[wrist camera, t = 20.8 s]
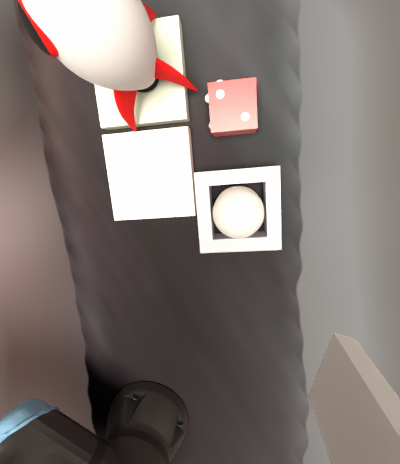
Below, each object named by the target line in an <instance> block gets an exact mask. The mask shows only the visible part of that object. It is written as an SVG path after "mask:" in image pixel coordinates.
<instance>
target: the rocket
mask: <svg viewBox="0 0 400 464" xmlns="http://www.w3.org/2000/svg"><path fill="white" fill-rule="evenodd" d="M17 4H18V12H19V15H20V18H21V21H22V23H23V25H24V28H25V29H26V31H27V33H28V34H29V36H30V37H31V39H32V40H33V41H34V43H35V44H36V45H37V46H38V47H39V48H40V49H41V50H42V51H44V52H45V53H46V54H48V55H50V56H51V57H52V58H55V57H56V58H57V59H58V60H59V61H61V62H62V63H63V64H64V65H65V66H66V67H67V68H68V69H70V70H71V71H72V72H74V73H75V74H76V75H78V76H79V77H81V78H83V79H85V80H87V81H89V82H90V83H93V84H95V85H98V86H101V87H104V88H108V89H113V92H114V98H115V102H116V105H117V108H118V110H119V113H120V115H121V116H122V118H123V119H124V121H125V122H126V123H127V124H128V125H129V126H130V127H131V128H132V129H133V130H134V131H135V132H137V130H136V123H135V116H134V106H135V99H136V94H137V91H138V92H149V91H151V90H153V89H154V88H155V87H156V86H157V84H158V82H159V79H161V80H165V81H169V82H173V83H176V84H179V85H181V86H184V87H186V88H189V89H191V90H194V91H196V92H197V91H198V90H197V89H196V88H195V87H194V86H193V85H192V83H191V82H190V81H189V80H188V79H187V78H186V77H185V76H184V75H182V74H181V73H180V72H179V71H177V70H176V69H175V68H173V67H172V66H170V65H169V64H167V63H166V62H164V61H162V60H160V59H159V58H158V57H157V47H156V41H155V36H154V32H153V28H152V25H151V22H152V21H153V19H154V18H155V17H156V13H154V12H153V11H152V10H151V9H150V8H149V7H148V6H146V5H145V4H142V2H141V0H18V2H17Z"/></svg>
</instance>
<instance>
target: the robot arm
mask: <svg viewBox="0 0 400 464" xmlns="http://www.w3.org/2000/svg"><path fill="white" fill-rule="evenodd" d="M308 397H309V400H310V403H311V406H312V409H313V412H314V415H315V418H316V421H317V424H318V427H319V430H320V432H321V436H322V438H323V442H324V444H325V447H326V450H327V453H328V456H329V459H330V462H331V464H400V399H399V398H398V396H397V395H396V393H395V392H394V391H393V390H392V388H391V387H390V385H389V384H388V382H387V381H386V380H385V378H384V377H383V376H382V374H381V373H380V372H379V370H378V369H377V368H376V366H375V365H374V363H373V362H372V361H371V359H370V358H369V357H368V355H367V354H366V352H365V351H364V350H363V349H362V347H361V346H360V344H359V343H358V342H357V340H356V339H355V338H352V337H348V336H345V335H341V334H337V333H333V335H332V338H331V340H330V343H329V345H328V348H327V350H326V353H325V355H324V358H323V360H322V363H321V365H320V368H319V370H318V373H317V375H316V378H315V380H314V383H313V385H312V388H311V390H310V393H309V395H308ZM187 423H188V415H187V411H186V408H185V406H184V404H183V402H182V400H181V399H180V398H179V397H178V396H177V395H176V394H175V393H174V392H173V391H171V390H170V389H168V388H167V387H165V386H163V385H160V384H157V383H153V382H136V383H132V384H130V385H127V386H126V387H124V388H123V389H122V390H120V391H119V393H118V394H117V395H116V397H115V399H114V401H113V403H112V405H111V408H110V411H109V415H108V423H107V430H106V438H105V441H104V440H103V439H101V438H100V437H98V436H97V435H95V434H94V433H92V432H91V431H89V430H88V429H86V428H85V427H83V426H82V425H80V424H78V423H77V422H75V421H74V420H72V419H71V418H69V417H68V416H66V415H65V414H63V413H61V412H60V411H59V409H58V408H57V407H52V406H50V405H48V404H46V403H45V402H43V401H41V400H39V399H29V400H27V401H24V402H23V403H21V404H19V405H18V406H16V407H15V408H14V409H12V410H11V411H10V412H9V413H7V414H6V415H5V416H4V417H3V418H2V419H1V420H0V464H170V462H171V460H172V458H173V457H174V455H175V453H176V452H177V450H178V448H179V446H180V445H181V443H182V441H183V439H184V437H185V433H186V428H187Z"/></svg>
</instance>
